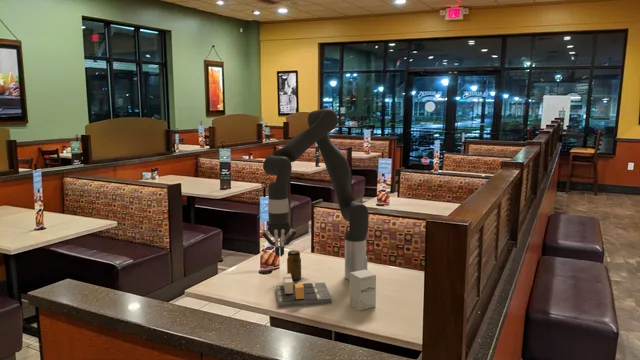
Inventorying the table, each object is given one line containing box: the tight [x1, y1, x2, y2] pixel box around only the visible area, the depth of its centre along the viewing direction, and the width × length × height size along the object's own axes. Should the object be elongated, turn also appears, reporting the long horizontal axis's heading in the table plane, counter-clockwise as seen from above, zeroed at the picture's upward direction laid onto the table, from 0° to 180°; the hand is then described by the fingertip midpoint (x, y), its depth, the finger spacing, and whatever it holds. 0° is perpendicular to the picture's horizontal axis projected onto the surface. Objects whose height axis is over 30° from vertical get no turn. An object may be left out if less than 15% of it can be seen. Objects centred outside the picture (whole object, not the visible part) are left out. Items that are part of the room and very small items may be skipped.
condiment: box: [286, 250, 308, 284], centre depth 209 cm, size 7×8×12 cm
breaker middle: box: [284, 279, 294, 294], centre depth 189 cm, size 3×4×4 cm
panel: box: [275, 282, 333, 308], centre depth 190 cm, size 20×17×2 cm
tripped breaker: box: [294, 282, 304, 299], centre depth 184 cm, size 3×4×4 cm
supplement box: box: [349, 269, 377, 311], centre depth 180 cm, size 7×7×13 cm
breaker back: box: [282, 273, 292, 288], centre depth 195 cm, size 3×4×4 cm
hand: (279, 255), depth 180 cm, fingers closed
